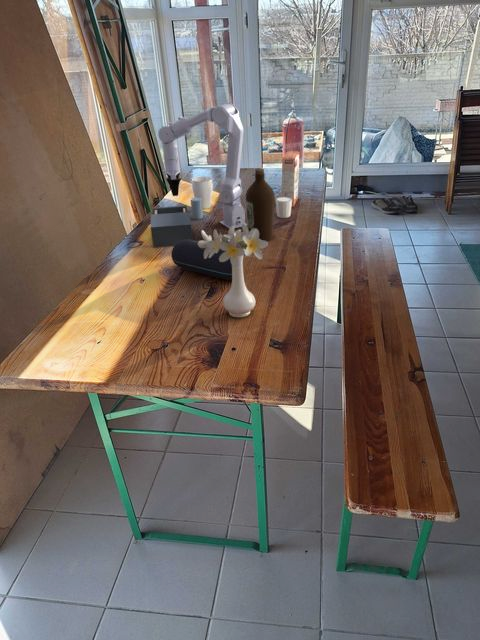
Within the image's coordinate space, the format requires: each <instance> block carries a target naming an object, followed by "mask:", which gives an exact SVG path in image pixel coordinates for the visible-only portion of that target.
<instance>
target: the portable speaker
mask: <svg viewBox="0 0 480 640" xmlns="http://www.w3.org/2000/svg"><path fill="white" fill-rule="evenodd" d="M199 241H200V240H197V239H196V240H195V239H193V240H190V239H186V240H181V241H179V242H177V243H176V244H175V245H174V246H172V249H171V255H170V256H171V261H172V262H173V264H174V265H175V266H177V268H180V269H182V270H185V271H189V272H194V273H197V274H201V275H205V276H208V277H212V278H216V279H219V280H220V279H221V280H224V281H232V264H231V261H230V258H231V257H230V258H229V259H228V260H227V261H225V262H220V261H219V257H220V256H221V254H222V253H224V252H226V251H223V250H222V249H219V251H218V253H214V254H213V256H212V257H211V258H209V254H210V252H209V254H208V256H207V258H206V259H204V251H205V249H206V248H200V247H199V246H198V242H199ZM213 249H215V248H213ZM244 261H245V260H244V258H243V265H244V263H245V262H244Z"/></svg>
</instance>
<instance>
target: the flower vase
mask: <svg viewBox="0 0 480 640" xmlns="http://www.w3.org/2000/svg"><path fill="white" fill-rule="evenodd" d="M241 228H242V230H241V229H238V230H236V231H235V228H234V227H233V226H232V227H231V228H230V229H229V228H228V232H227V234H222V233H221V232H220V233H218V231H217V229H214V230H213V238H212V235H211V234H209V235H208V234H206V232H205V230H203V229H201V231H200V232H201V233H200V235H201V237H202V239H203V240H198V241H199V242H198V246H199V247H200V248H206V249H205V251H204V259H206V258H207V256H208V254H209V252H210V254H209V258H211V257H212V256H213V254H214V253H218V251H219V249H222V250H223V251H226V252H224V253H222V254H221V256H220V257H219V261H220V262H225V261H227V260H228V259H229V258H230V257H231V258H230V261H231V264H232V280H231V285H230V288H229V290H228V291H227V292H226V294H225V295H224V296H223V298H222V306H223V308H224V310H225V311H226V312H228V314H229V316H231V317H234V318H245V317H247V316H249V315H250V314H251V311H252V310H254V308H255V306H256V304H257V302H256V298H255V296H254V294H253V293H252V292H251V291H250V290H249V289H248V288H247V286H246V284H245V283H246V282H245V276H244V264H243V259H244V255H245V256H246V257H249V256H251V255H252V254H254V256H255V257H256V258H257V259H258V260H263V253H262V251H261V250H262V249H265V248H267V247H268V246H269V242H268V240H267V241H264V240H261V239H259V231H258V230H257V229H256V228H254V229H252V230H251V231H250V232H249V230H248V226H246V225H245V224H242V227H241ZM242 231H243V232H242ZM248 233H249V234H248ZM212 239H213V240H212ZM240 245H242V246H240ZM213 248H215V249H213Z"/></svg>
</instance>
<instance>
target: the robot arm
mask: <svg viewBox="0 0 480 640" xmlns="http://www.w3.org/2000/svg"><path fill="white" fill-rule="evenodd" d="M208 121H209V122H210V123H214V124H215V125H217V126H219V128H221V129H222V130H224V131H225V132H226V134H228V142H227V153H226V166H225V176H224V180H223V182H222V185H221V189H220V191H219V194H218V197H219V199H220V202H222V203H221V204H222V217H223V218H222V220H220V221H219V224H221V225H223V226H224V227H226V228H227V229H228V230H229V229H230V228H231V227H232V226H233V227H234V229H238V228H242V224H245V225H246V227H248V223H247V222H246V210H245V208H244V207H243V205H242V203H241V196H242V194H243V188H242V180H241V178H240V170H241V162H242V150H243V139H244V131H245V130H244V126H243V123H242V120H241V117H240V110H239V109H238V108H237V107H236V106H235V104H233V103H231V102H225V103H223V104H219V105H215V106H212V107H208V108H206V109H204V110H202V111H201V112H199V113H197V114H195V115H193V116H192V117H190V118H189V117H187V116H179V117H177V120H175V121H173V122H172V121H169V122H168V123H167V125H163V126H161V128H159V130H158V133H157V135H158V139H159V140H160V141H161V146H162V153H163V161H164V162H163V163H164V169H162V173H163V174H165V175H166V176H167V177H166V178H165V180H166V182H167V184H168V185H169V188H170V192H171V195H172V197H179V187H180V184H181V181H182V180H181V179H182V178H181V177H180V174H181V168H180V158H179V149H178V148H179V147H178V139H180V138H182V137H184V136H186V135H188V134H190V133H192V132H193V129H194V127H196V126H198V125H200V124H203V123H205V122H208Z"/></svg>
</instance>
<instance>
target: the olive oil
mask: <svg viewBox="0 0 480 640" xmlns="http://www.w3.org/2000/svg"><path fill="white" fill-rule="evenodd" d="M254 171H255V173H254V181H253V182H252V183H251V185H250V186H249V187H248V189H247V190H246V193H245V208H246V220H247V228H248V230H249V232H250V231H251V230H252V229H254V228H256V229H257V230H258V231H259V239H261V240H264V241H267V242H268V241H270V240H272V239H273V238H274V221H275V219H274V218H275V203H276V196H275V192H274V189H273V187H271V185H269V184H268V182H267V181H266V178H265V177H266V176H265V175H266V174H265V169H264V168H256V169H255V170H254ZM248 234H249V233H248Z"/></svg>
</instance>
